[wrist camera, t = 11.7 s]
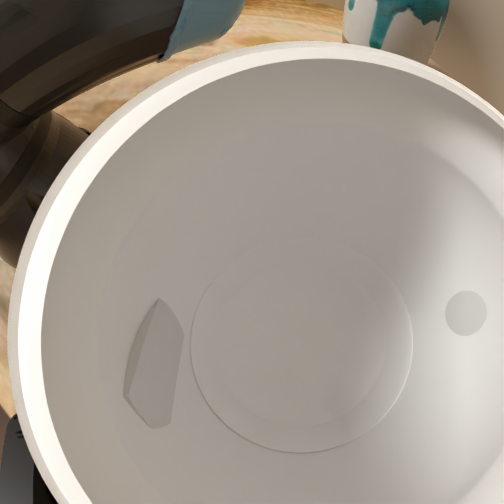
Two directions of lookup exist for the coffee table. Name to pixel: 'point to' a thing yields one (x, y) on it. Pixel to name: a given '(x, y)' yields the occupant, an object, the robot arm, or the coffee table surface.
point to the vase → (395, 25)
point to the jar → (273, 288)
